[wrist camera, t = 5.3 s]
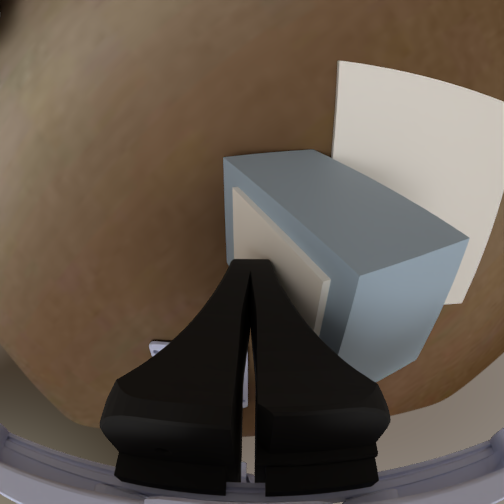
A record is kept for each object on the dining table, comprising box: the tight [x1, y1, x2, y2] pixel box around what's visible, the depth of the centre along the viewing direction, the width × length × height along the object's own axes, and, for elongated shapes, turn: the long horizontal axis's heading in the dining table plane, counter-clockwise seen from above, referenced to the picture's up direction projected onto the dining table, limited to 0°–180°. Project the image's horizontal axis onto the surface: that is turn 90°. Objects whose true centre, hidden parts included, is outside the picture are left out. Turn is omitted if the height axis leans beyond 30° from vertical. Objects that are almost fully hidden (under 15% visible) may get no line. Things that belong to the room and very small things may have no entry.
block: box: [223, 150, 470, 382], centre depth 13 cm, size 6×5×10 cm
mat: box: [331, 61, 504, 304], centre depth 18 cm, size 16×13×1 cm
